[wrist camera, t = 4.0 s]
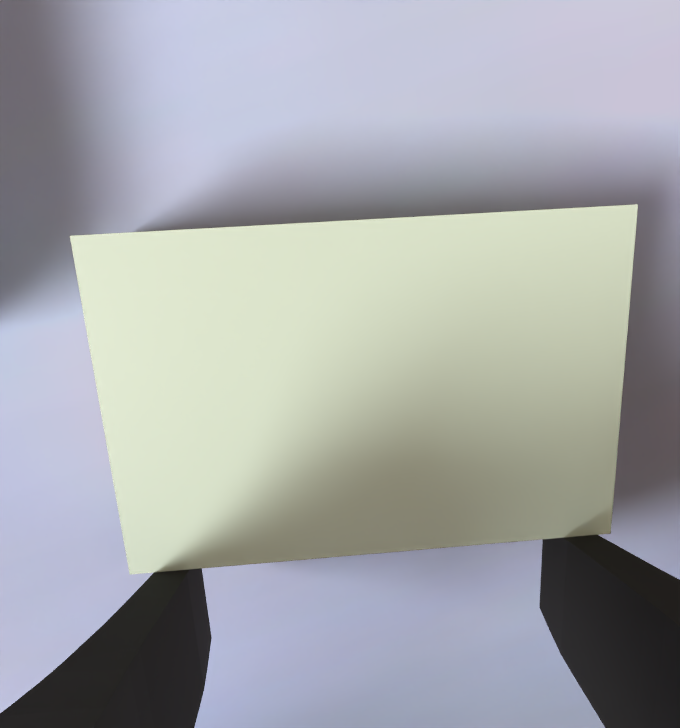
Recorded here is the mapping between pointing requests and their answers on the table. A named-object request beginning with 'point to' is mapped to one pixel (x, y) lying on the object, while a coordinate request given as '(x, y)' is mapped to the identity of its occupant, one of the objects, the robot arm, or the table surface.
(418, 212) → the table surface
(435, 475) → the green tile
